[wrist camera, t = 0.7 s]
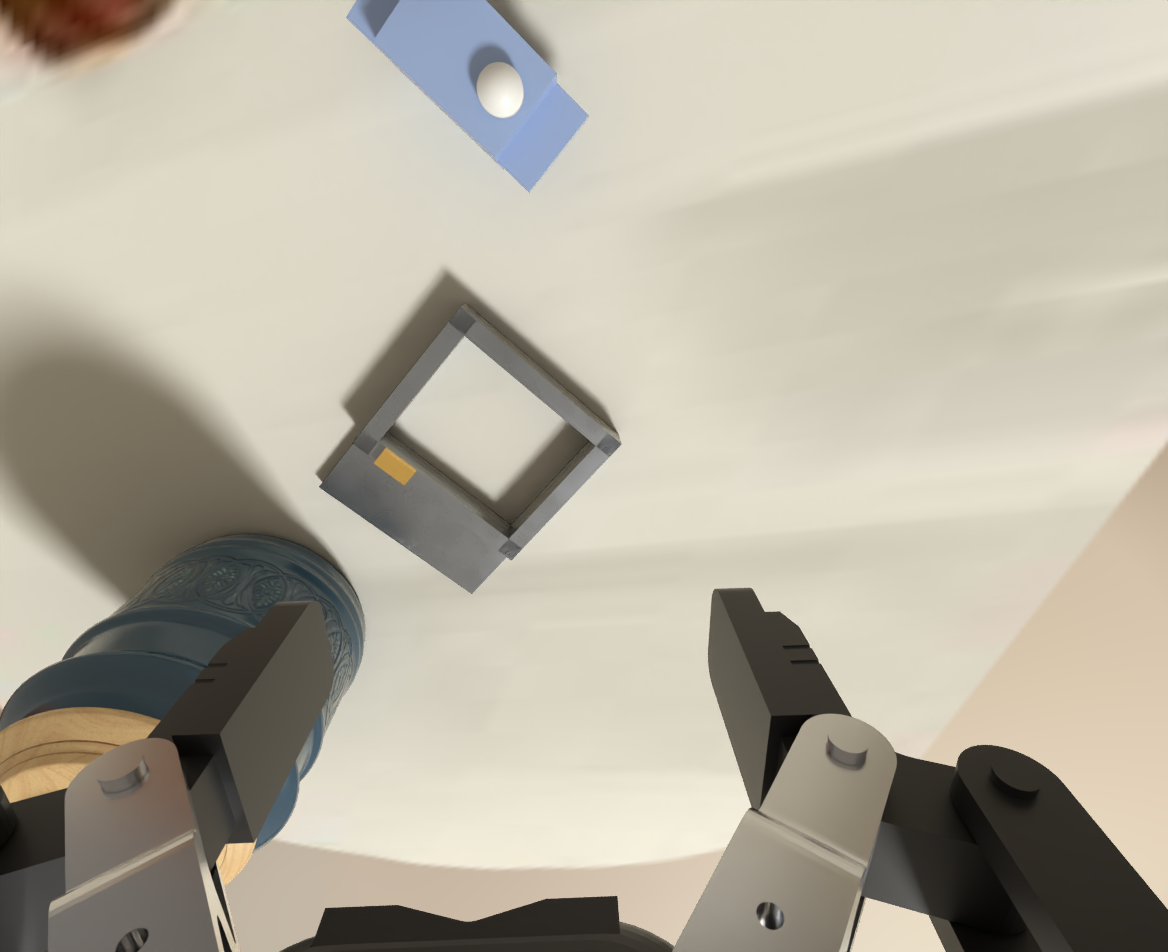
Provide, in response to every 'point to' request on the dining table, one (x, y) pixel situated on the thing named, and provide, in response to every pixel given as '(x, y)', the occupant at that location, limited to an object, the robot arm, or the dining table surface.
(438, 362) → the chassis plate
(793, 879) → the robot arm
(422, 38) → the block
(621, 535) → the dining table surface
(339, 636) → the canister
